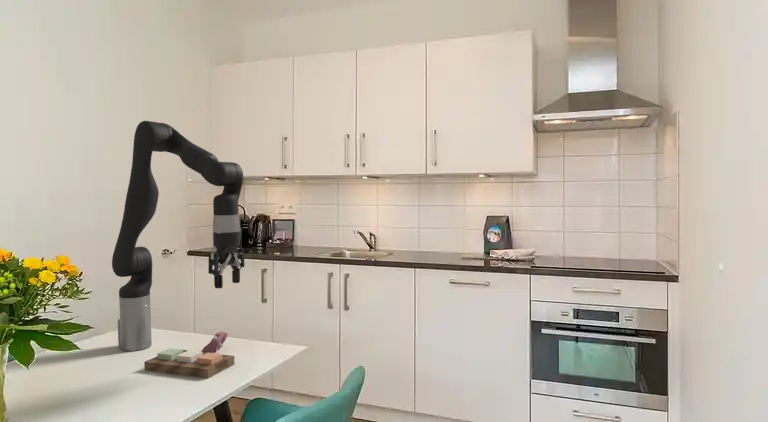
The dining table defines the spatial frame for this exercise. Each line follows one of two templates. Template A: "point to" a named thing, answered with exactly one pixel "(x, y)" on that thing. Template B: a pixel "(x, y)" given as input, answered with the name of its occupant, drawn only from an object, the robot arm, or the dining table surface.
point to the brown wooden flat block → (188, 366)
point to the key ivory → (189, 356)
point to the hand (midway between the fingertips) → (227, 285)
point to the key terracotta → (209, 358)
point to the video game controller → (216, 342)
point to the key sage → (169, 354)
